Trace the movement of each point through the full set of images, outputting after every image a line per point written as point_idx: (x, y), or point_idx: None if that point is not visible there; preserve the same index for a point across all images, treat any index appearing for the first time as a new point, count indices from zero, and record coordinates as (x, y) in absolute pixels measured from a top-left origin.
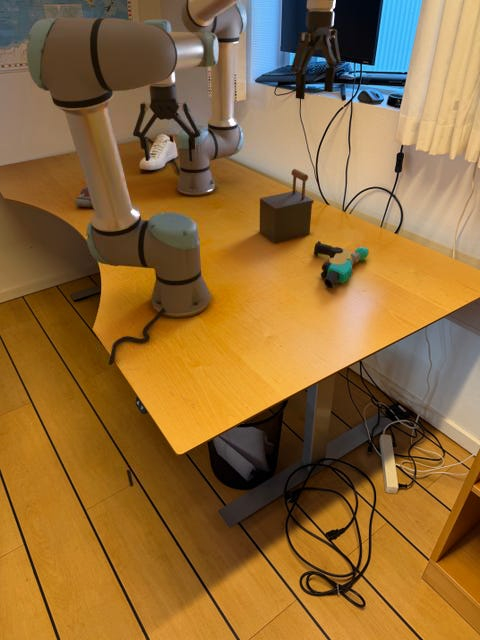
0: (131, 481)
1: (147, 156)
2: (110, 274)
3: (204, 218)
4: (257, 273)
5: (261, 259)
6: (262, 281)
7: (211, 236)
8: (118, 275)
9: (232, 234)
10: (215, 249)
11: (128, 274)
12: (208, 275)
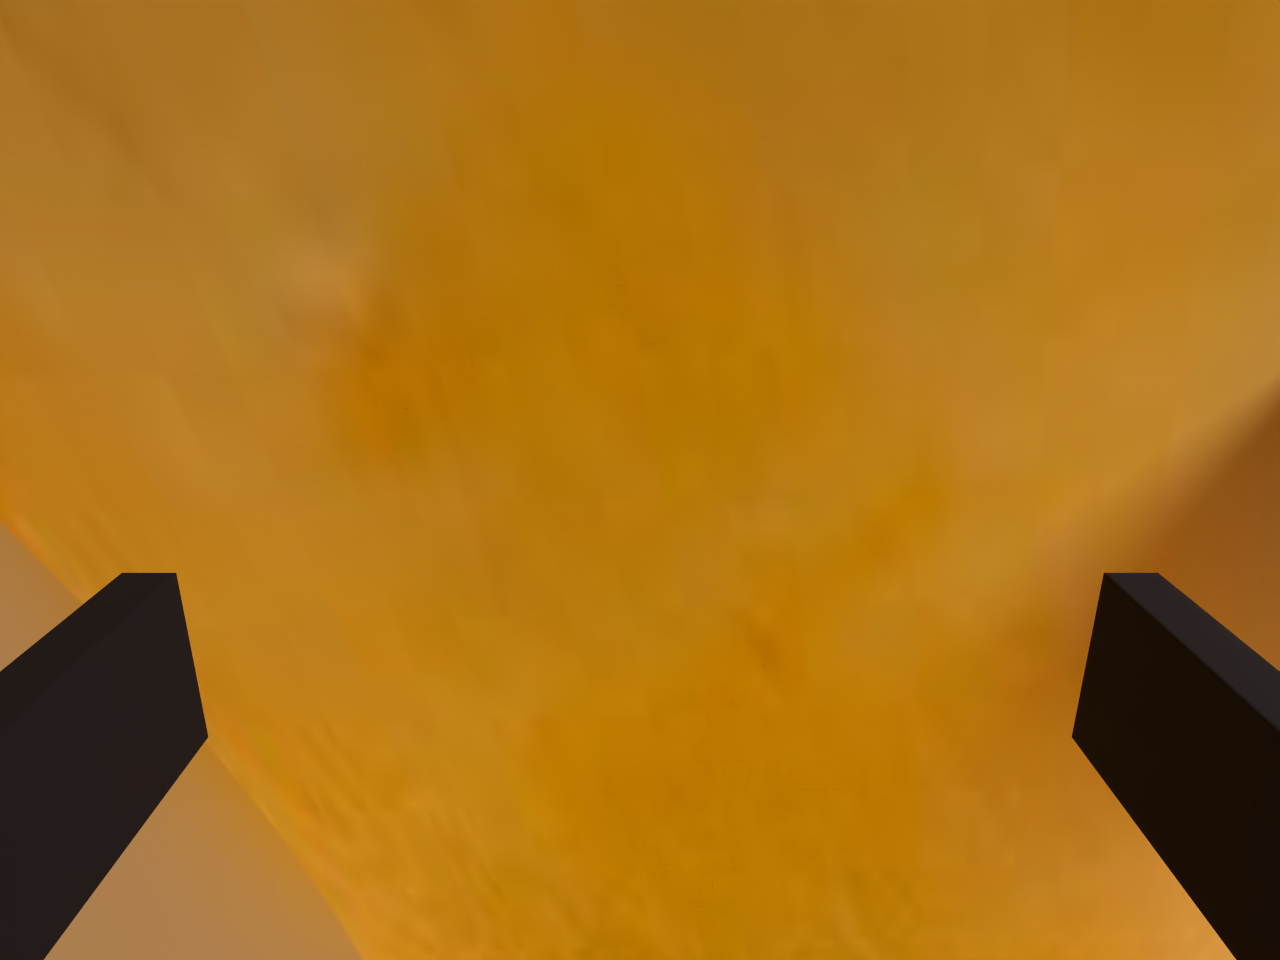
0: None
1: (157, 801)
2: (359, 909)
3: (869, 34)
4: None
5: None
6: None
7: (940, 420)
8: (409, 916)
9: (1116, 378)
10: (969, 618)
11: (462, 906)
12: (923, 898)
